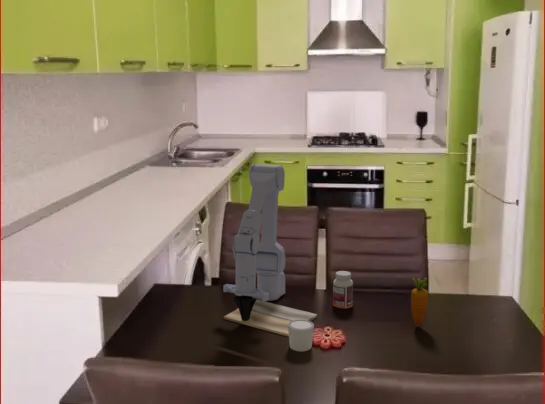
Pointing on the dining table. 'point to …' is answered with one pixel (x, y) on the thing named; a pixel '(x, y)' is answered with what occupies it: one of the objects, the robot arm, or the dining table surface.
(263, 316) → the oak plank
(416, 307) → the carrot
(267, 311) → the laid plank
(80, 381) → the dining table surface
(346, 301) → the pill bottle
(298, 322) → the white cup
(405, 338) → the dining table surface
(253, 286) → the robot arm
